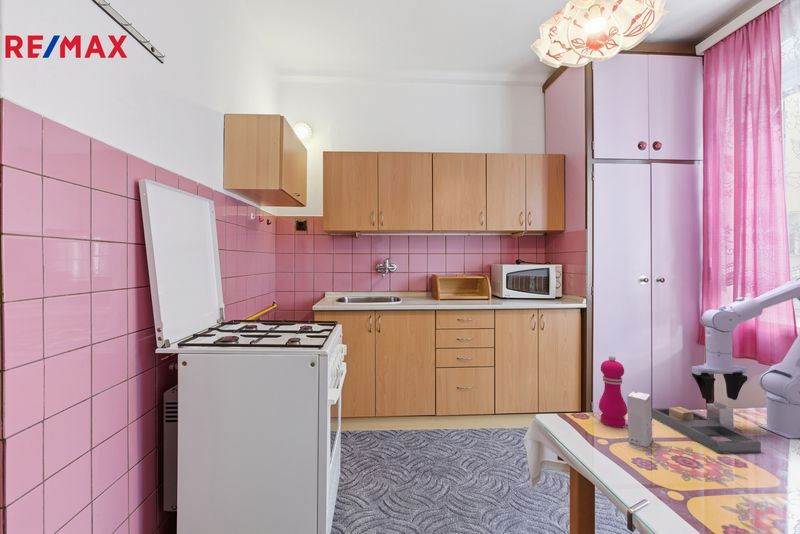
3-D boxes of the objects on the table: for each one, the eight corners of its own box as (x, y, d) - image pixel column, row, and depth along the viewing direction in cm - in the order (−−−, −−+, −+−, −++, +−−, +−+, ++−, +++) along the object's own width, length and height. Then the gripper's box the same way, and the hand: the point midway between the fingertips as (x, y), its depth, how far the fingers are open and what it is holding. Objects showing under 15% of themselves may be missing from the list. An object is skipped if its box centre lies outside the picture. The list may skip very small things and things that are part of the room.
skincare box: (647, 448, 88) (647, 400, 88) (627, 442, 91) (626, 395, 92) (653, 440, 92) (652, 394, 93) (633, 434, 96) (632, 390, 96)
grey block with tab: (720, 423, 102) (719, 400, 102) (733, 430, 98) (733, 405, 98) (707, 424, 102) (706, 400, 102) (720, 430, 98) (719, 406, 98)
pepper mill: (632, 429, 99) (631, 358, 99) (604, 427, 100) (603, 357, 101) (621, 419, 106) (620, 353, 106) (595, 417, 107) (594, 352, 108)
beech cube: (679, 420, 105) (679, 406, 105) (693, 425, 101) (693, 411, 101) (669, 421, 104) (668, 407, 104) (682, 427, 100) (682, 413, 101)
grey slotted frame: (684, 415, 108) (684, 407, 108) (760, 452, 86) (760, 442, 86) (650, 416, 108) (650, 408, 108) (718, 453, 86) (717, 443, 86)
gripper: (729, 348, 105) (729, 393, 105) (682, 348, 104) (683, 394, 104) (753, 353, 98) (754, 402, 98) (704, 354, 97) (704, 403, 97)
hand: (719, 398), depth 100 cm, fingers open, 7 cm apart
